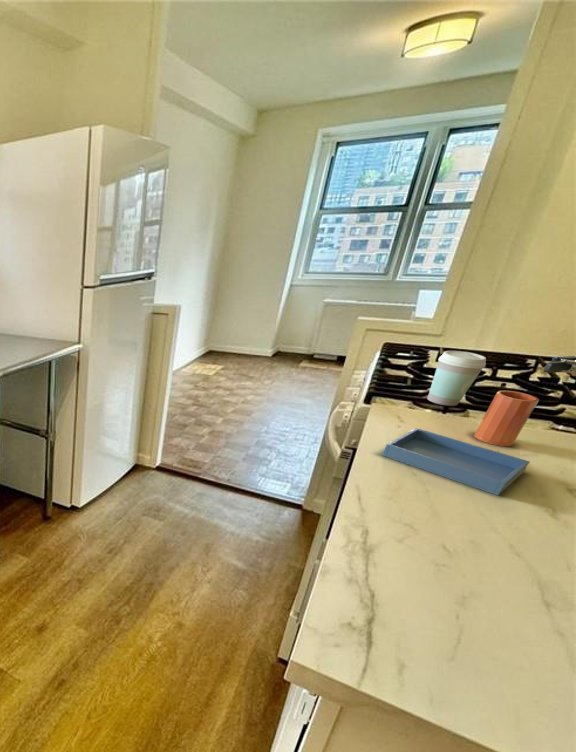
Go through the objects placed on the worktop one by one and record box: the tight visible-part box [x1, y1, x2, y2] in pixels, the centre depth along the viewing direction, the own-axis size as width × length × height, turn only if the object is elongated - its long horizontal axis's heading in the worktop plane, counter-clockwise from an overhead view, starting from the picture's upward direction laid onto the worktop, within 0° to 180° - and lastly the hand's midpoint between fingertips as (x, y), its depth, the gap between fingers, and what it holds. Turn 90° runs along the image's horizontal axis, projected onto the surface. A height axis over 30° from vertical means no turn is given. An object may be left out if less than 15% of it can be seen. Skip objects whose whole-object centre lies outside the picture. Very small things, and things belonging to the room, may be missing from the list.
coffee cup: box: [426, 350, 487, 407], centre depth 118 cm, size 8×9×12 cm
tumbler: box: [473, 390, 540, 447], centre depth 100 cm, size 6×6×10 cm
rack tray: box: [381, 427, 530, 496], centre depth 92 cm, size 17×14×2 cm
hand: (573, 374), depth 97 cm, fingers open, 8 cm apart
